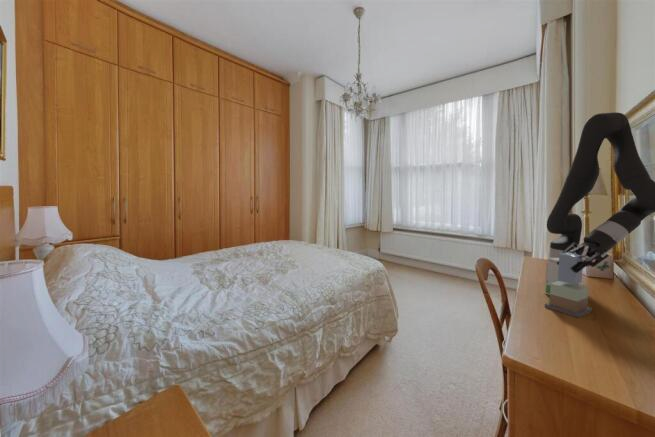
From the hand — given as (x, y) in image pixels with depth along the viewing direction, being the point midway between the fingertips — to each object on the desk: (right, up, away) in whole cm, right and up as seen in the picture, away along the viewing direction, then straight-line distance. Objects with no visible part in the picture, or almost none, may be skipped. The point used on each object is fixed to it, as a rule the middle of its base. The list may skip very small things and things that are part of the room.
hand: (565, 267), depth 98 cm
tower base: (+2, -16, +1) cm, 16 cm away
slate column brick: (+2, -5, 0) cm, 5 cm away
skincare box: (+9, -15, +13) cm, 21 cm away
